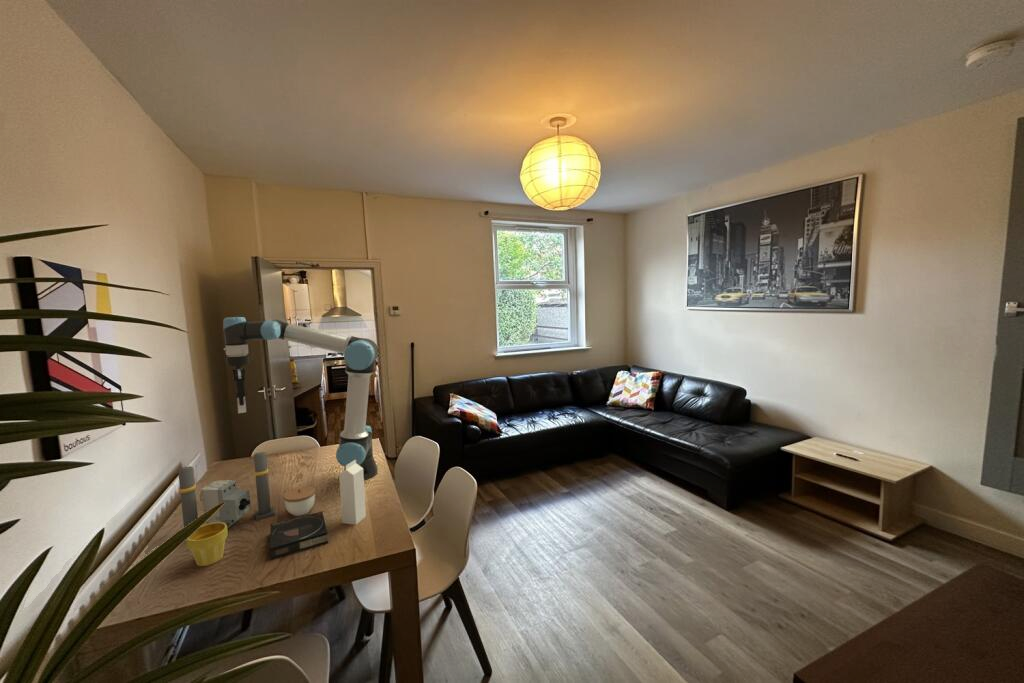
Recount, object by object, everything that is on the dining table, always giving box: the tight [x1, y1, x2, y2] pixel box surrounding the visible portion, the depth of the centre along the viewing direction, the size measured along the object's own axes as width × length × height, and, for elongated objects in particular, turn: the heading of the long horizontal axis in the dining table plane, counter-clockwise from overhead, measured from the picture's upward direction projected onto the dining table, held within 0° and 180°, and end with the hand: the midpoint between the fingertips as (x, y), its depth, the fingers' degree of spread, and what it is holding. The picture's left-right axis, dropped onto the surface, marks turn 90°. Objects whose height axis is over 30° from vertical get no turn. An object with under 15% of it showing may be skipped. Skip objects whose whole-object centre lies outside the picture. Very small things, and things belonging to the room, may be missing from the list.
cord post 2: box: [253, 451, 276, 521], centre depth 153 cm, size 6×6×24 cm
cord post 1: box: [177, 466, 199, 528], centre depth 140 cm, size 6×6×24 cm
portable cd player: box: [269, 511, 329, 560], centre depth 138 cm, size 16×17×4 cm
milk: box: [338, 460, 367, 526], centre depth 148 cm, size 6×6×22 cm
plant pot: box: [185, 522, 229, 567], centre depth 127 cm, size 10×10×10 cm
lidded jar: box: [283, 486, 316, 517], centre depth 155 cm, size 11×11×9 cm
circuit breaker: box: [199, 480, 252, 529], centre depth 147 cm, size 8×14×15 cm, turn 89°
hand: (242, 412), depth 165 cm, fingers closed
